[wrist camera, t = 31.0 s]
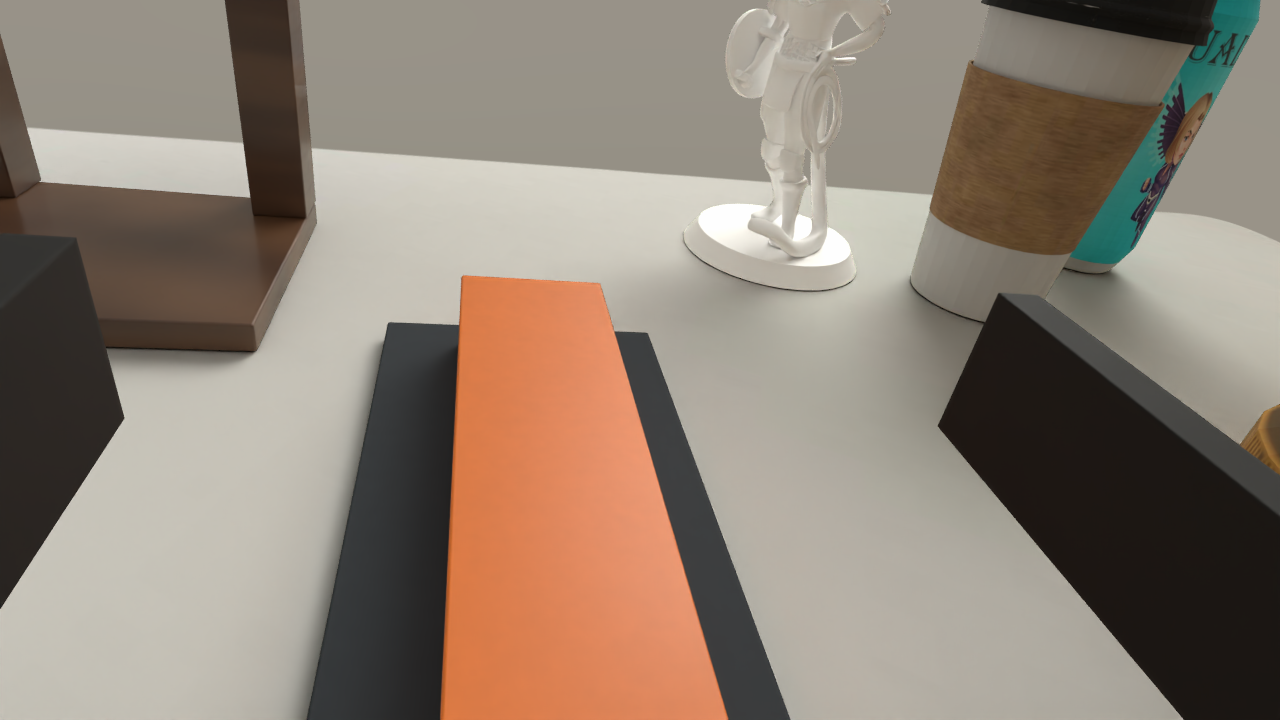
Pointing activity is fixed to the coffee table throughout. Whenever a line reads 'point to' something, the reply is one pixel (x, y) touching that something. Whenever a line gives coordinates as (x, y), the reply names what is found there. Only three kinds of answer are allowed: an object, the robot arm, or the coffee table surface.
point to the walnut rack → (188, 209)
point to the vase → (1265, 439)
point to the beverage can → (1166, 141)
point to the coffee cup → (1045, 138)
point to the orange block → (560, 525)
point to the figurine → (788, 144)
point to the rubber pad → (419, 537)
